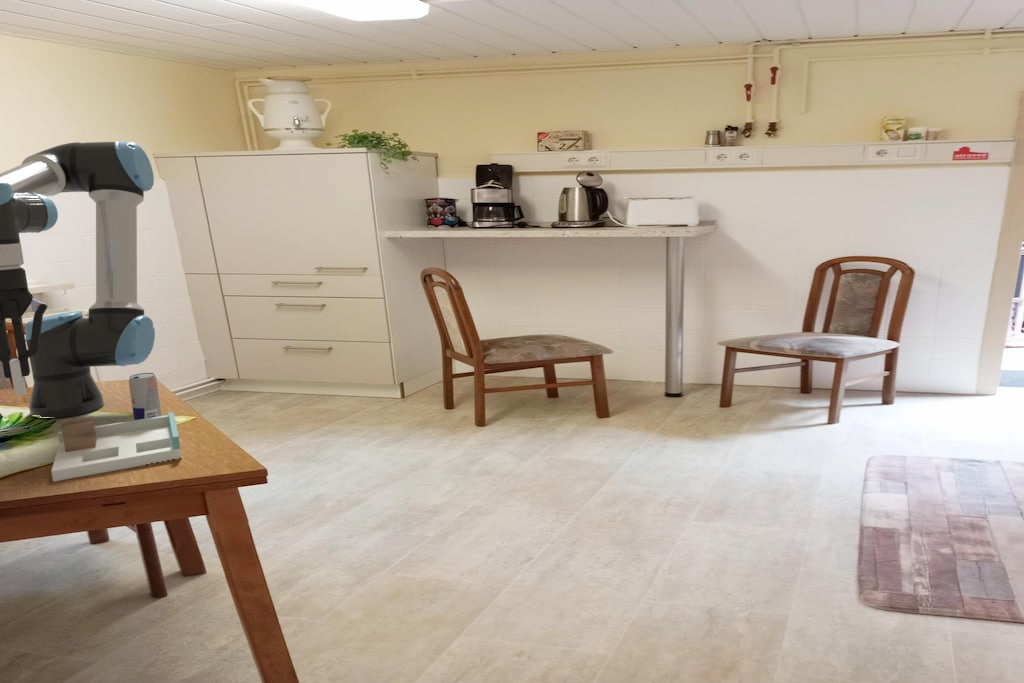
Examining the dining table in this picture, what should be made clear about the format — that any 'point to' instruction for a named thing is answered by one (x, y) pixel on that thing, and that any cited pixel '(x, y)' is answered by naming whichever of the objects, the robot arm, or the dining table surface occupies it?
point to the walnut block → (79, 434)
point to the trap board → (120, 448)
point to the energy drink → (144, 396)
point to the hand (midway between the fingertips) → (20, 393)
